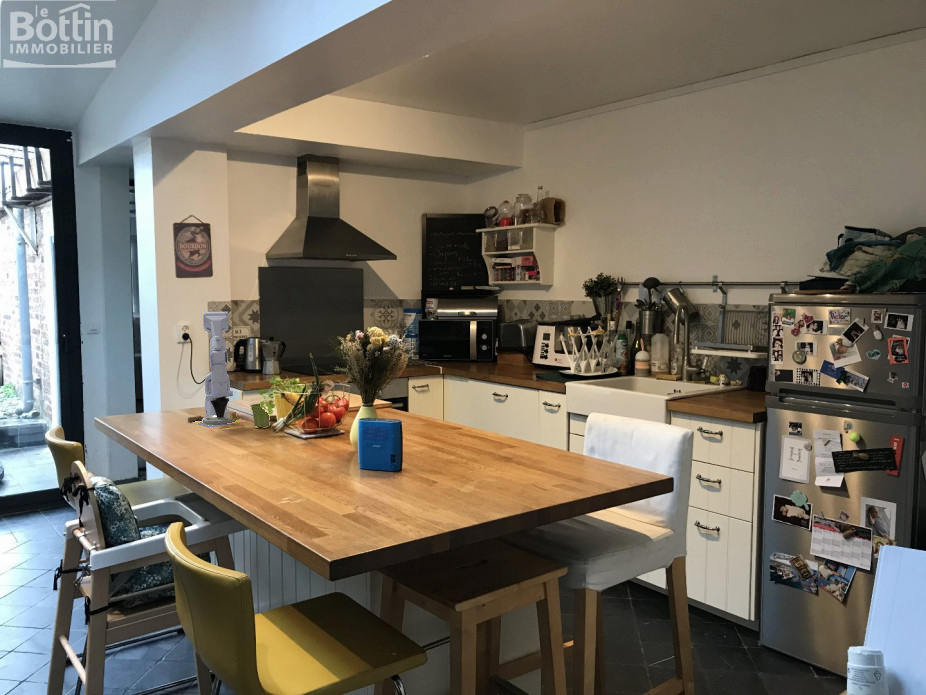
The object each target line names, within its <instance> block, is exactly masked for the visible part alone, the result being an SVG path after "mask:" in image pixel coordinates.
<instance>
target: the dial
mask: <svg viewBox="0 0 926 695" xmlns="http://www.w3.org/2000/svg"><path fill="white" fill-rule="evenodd" d="M208 416H209V420H226V419H235V418H237V412H236V411H232V410H228V409H227V410H225V413H224V417H222V418H217V416H216V414H213V415H208Z"/></svg>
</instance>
